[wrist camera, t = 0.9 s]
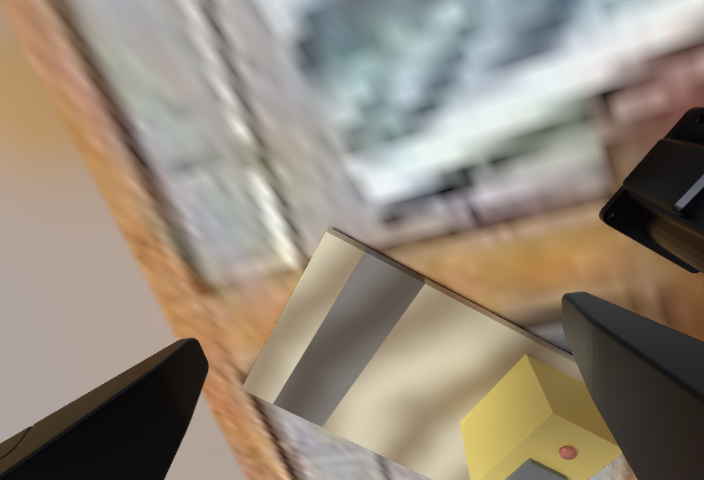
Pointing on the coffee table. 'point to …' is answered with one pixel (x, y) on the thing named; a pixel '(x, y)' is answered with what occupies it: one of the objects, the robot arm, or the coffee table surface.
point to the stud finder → (536, 428)
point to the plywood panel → (389, 357)
